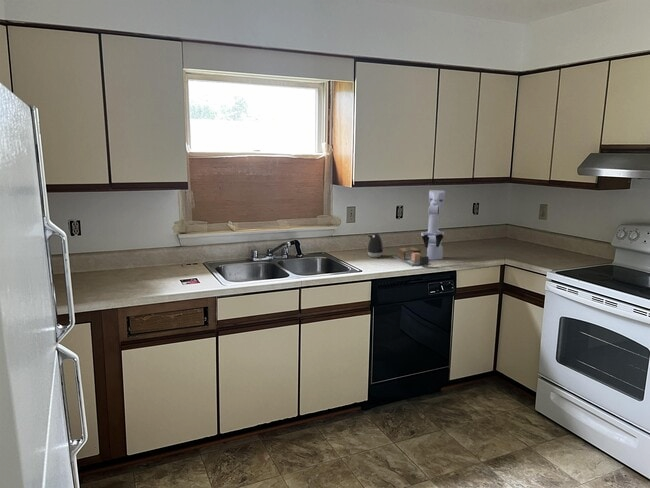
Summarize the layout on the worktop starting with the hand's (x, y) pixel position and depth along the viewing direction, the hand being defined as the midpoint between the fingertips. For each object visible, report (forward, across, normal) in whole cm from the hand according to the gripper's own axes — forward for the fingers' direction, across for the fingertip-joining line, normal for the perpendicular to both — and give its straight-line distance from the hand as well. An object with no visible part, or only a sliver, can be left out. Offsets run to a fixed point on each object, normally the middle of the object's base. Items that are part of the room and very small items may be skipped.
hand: (431, 247), depth 299 cm
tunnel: (+10, -8, +13) cm, 18 cm away
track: (+10, -8, +10) cm, 17 cm away
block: (+8, -8, +4) cm, 12 cm away
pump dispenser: (+11, -25, +27) cm, 38 cm away
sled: (+9, -8, +1) cm, 12 cm away
